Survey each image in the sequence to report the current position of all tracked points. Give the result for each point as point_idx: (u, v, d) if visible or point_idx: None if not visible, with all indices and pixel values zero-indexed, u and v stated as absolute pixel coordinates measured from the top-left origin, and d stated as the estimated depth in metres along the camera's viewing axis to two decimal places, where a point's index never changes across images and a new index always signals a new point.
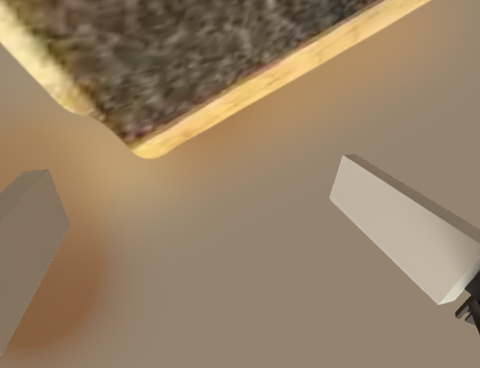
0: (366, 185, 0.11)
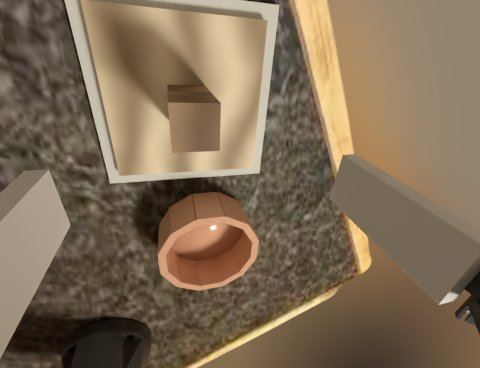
0: (366, 185, 0.11)
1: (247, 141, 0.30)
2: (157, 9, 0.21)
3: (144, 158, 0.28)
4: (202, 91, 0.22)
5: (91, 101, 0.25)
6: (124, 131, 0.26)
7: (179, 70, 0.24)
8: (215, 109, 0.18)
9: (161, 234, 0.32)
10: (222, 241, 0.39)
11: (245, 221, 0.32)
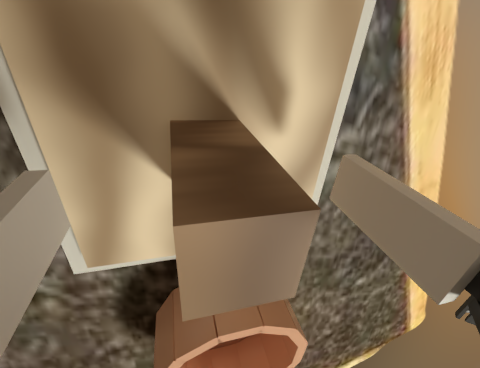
0: (366, 185, 0.11)
1: None
2: None
3: (129, 239, 0.16)
4: (243, 143, 0.11)
5: (24, 152, 0.13)
6: (91, 202, 0.14)
7: (192, 93, 0.13)
8: (305, 224, 0.07)
9: (159, 341, 0.21)
10: None
11: (291, 322, 0.20)
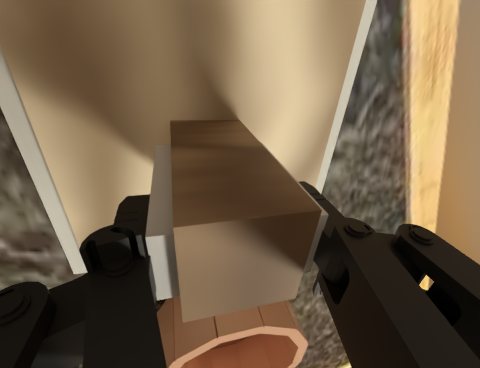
0: None
1: None
2: None
3: None
4: (244, 143, 0.11)
5: (24, 152, 0.13)
6: (91, 202, 0.14)
7: (192, 93, 0.12)
8: (305, 225, 0.07)
9: None
10: None
11: (291, 323, 0.20)
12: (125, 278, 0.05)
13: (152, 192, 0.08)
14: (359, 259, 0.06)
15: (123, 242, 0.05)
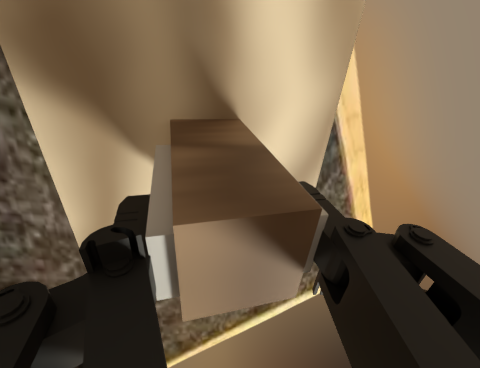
0: None
1: None
2: None
3: None
4: (244, 142, 0.11)
5: None
6: (91, 202, 0.14)
7: (192, 92, 0.12)
8: (306, 224, 0.07)
9: None
10: None
11: None
12: (125, 278, 0.05)
13: (152, 192, 0.08)
14: (359, 259, 0.06)
15: (123, 242, 0.05)
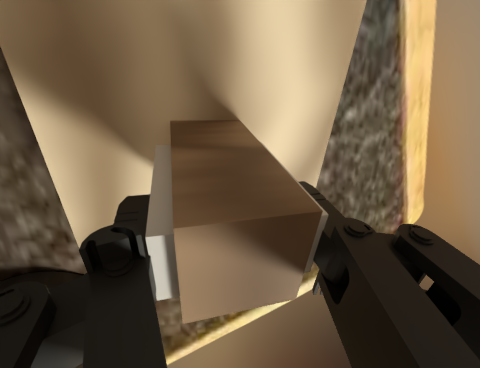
0: None
1: None
2: None
3: None
4: (244, 143, 0.11)
5: None
6: (91, 203, 0.14)
7: (193, 93, 0.12)
8: (306, 226, 0.07)
9: None
10: None
11: None
12: (125, 278, 0.05)
13: (152, 192, 0.08)
14: (359, 259, 0.06)
15: (123, 242, 0.05)
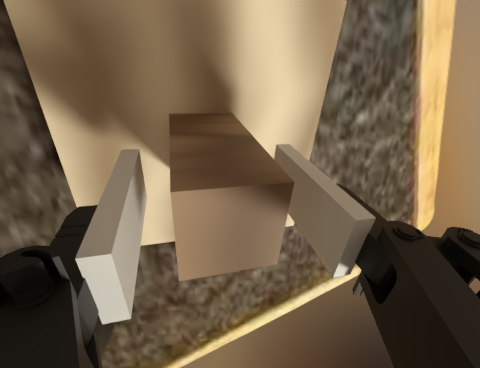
0: (289, 171, 0.11)
1: None
2: None
3: None
4: (234, 132, 0.12)
5: None
6: (96, 189, 0.15)
7: (189, 88, 0.14)
8: (281, 195, 0.08)
9: None
10: None
11: None
12: (42, 308, 0.04)
13: (100, 204, 0.07)
14: (409, 260, 0.06)
15: (36, 267, 0.04)
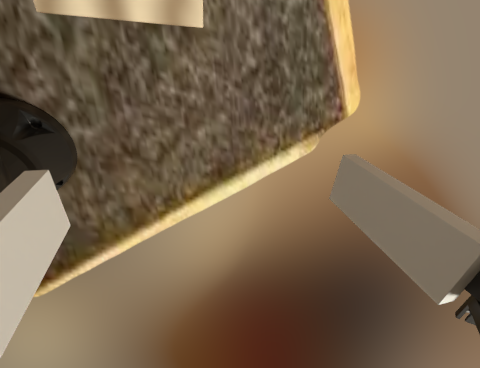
0: (366, 185, 0.11)
1: None
2: None
3: None
4: None
5: None
6: None
7: None
8: None
9: None
10: None
11: None
12: None
13: None
14: None
15: None
